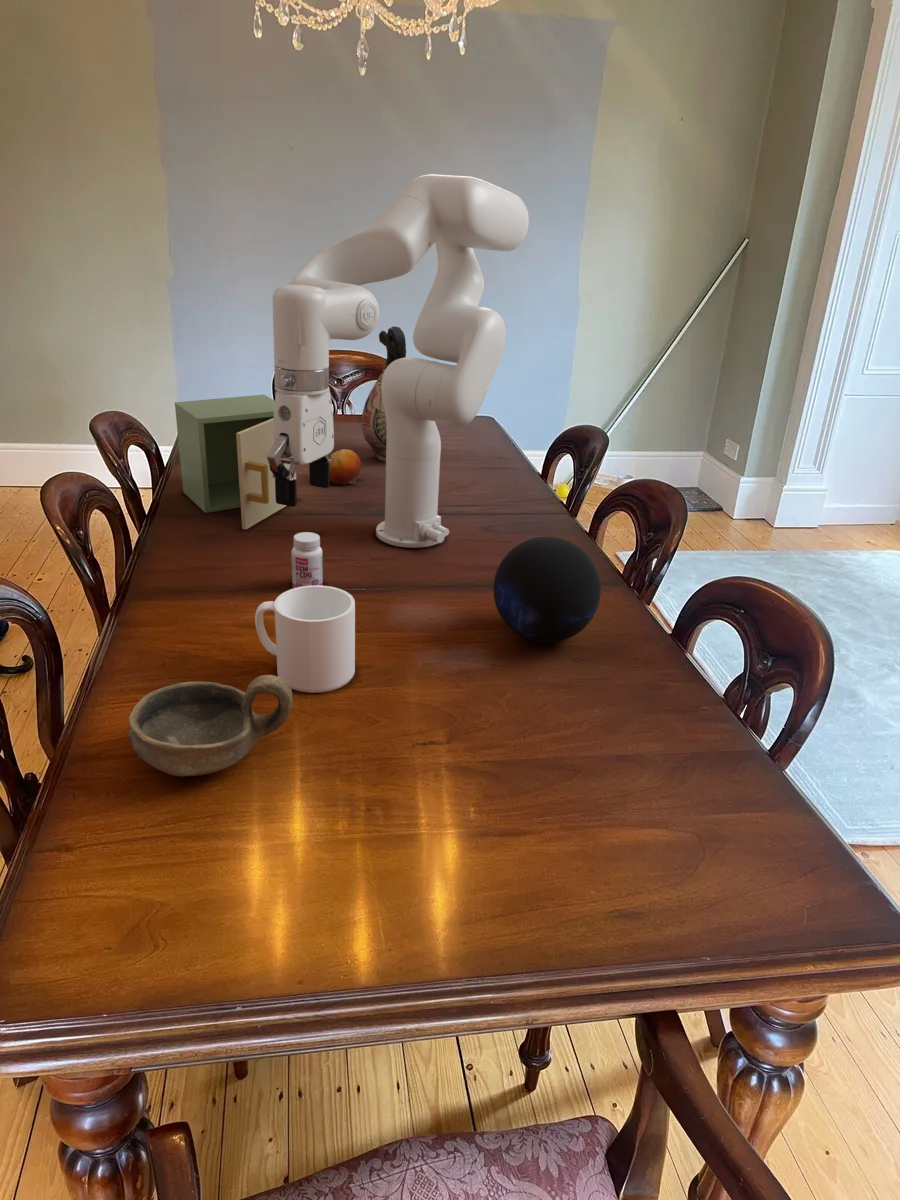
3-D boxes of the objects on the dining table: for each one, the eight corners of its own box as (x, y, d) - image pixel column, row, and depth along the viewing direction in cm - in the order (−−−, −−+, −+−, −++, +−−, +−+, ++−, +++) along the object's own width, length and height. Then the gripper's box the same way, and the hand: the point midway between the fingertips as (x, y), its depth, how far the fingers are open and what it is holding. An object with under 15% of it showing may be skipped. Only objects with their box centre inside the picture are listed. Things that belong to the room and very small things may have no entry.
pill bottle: (294, 593, 129) (292, 543, 125) (290, 580, 133) (289, 531, 129) (324, 591, 130) (324, 541, 126) (320, 578, 134) (319, 530, 130)
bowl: (147, 720, 98) (137, 647, 93) (298, 719, 99) (296, 647, 95) (116, 798, 85) (103, 718, 81) (289, 795, 87) (286, 716, 83)
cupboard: (293, 499, 166) (291, 409, 158) (205, 513, 157) (197, 418, 149) (267, 480, 176) (264, 394, 168) (183, 492, 166) (174, 402, 158)
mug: (358, 654, 114) (358, 587, 109) (350, 695, 105) (350, 623, 100) (266, 650, 113) (262, 582, 109) (250, 691, 104) (245, 618, 100)
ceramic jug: (355, 449, 199) (355, 318, 185) (417, 447, 203) (422, 318, 190) (370, 471, 184) (372, 331, 171) (437, 468, 189) (444, 331, 175)
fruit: (367, 482, 173) (347, 449, 170) (335, 499, 175) (315, 467, 172) (371, 470, 180) (352, 438, 177) (340, 487, 182) (321, 455, 179)
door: (315, 503, 164) (313, 414, 156) (265, 534, 149) (260, 437, 141) (293, 499, 166) (290, 410, 158) (242, 529, 151) (235, 433, 143)
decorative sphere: (614, 640, 121) (629, 545, 114) (548, 674, 112) (560, 573, 105) (535, 602, 131) (545, 513, 124) (468, 631, 121) (475, 536, 114)
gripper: (293, 393, 109) (295, 517, 116) (353, 373, 123) (352, 484, 131) (243, 386, 111) (249, 507, 118) (309, 366, 125) (310, 476, 133)
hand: (303, 495), depth 124 cm, fingers open, 9 cm apart
